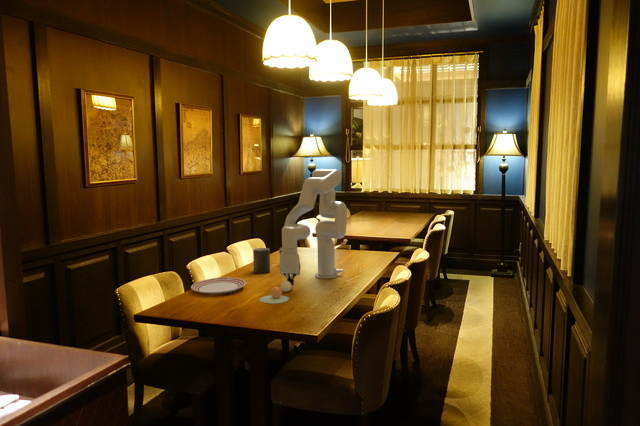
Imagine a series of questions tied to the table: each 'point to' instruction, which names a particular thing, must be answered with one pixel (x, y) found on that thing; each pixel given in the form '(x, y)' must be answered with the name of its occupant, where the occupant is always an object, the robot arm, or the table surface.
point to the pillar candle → (261, 260)
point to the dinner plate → (218, 285)
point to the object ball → (276, 292)
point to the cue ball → (286, 286)
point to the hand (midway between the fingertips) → (290, 285)
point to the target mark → (273, 299)
